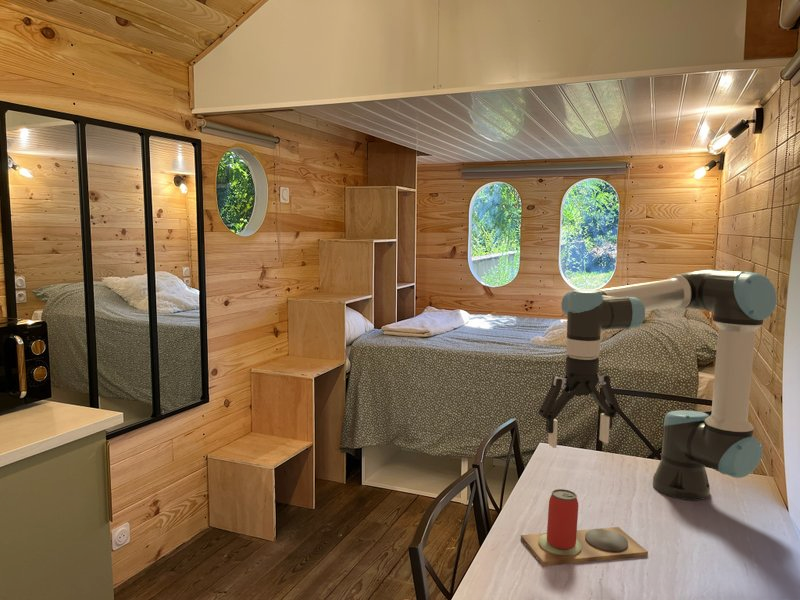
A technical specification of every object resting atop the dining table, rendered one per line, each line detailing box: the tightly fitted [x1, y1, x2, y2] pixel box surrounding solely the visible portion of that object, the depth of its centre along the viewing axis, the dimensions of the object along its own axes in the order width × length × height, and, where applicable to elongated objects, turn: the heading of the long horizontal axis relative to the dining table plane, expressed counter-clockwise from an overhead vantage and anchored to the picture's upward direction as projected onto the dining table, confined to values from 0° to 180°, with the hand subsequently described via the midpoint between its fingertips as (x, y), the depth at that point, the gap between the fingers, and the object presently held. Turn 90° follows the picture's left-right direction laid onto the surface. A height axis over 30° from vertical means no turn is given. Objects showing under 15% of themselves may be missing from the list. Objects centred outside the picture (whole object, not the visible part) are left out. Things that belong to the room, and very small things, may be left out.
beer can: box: [546, 488, 579, 550], centre depth 141 cm, size 7×7×12 cm
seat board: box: [520, 526, 649, 567], centre depth 143 cm, size 26×12×2 cm, turn 103°
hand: (578, 443), depth 146 cm, fingers open, 13 cm apart
